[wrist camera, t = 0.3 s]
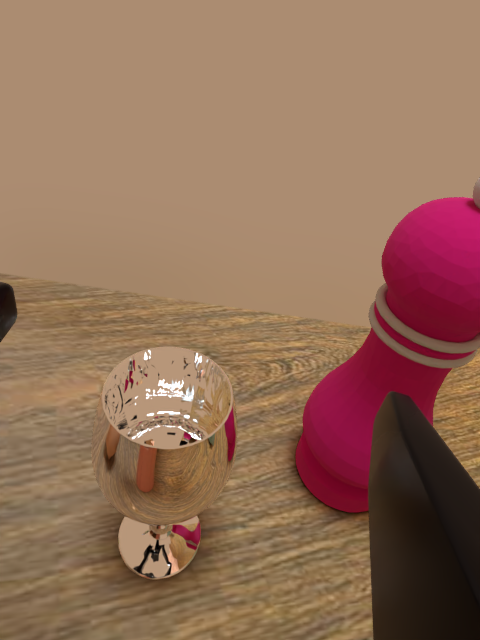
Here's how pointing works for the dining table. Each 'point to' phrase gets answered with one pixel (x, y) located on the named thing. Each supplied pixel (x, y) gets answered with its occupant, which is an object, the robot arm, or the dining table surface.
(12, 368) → the dining table surface
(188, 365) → the wineglass
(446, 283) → the pepper mill
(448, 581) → the robot arm
